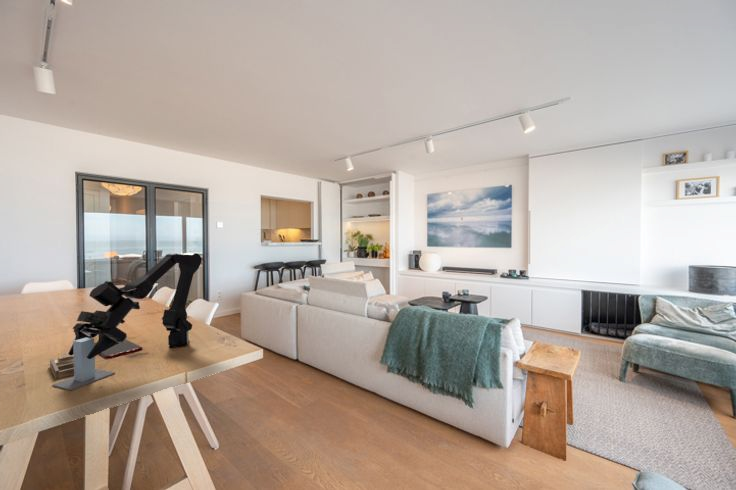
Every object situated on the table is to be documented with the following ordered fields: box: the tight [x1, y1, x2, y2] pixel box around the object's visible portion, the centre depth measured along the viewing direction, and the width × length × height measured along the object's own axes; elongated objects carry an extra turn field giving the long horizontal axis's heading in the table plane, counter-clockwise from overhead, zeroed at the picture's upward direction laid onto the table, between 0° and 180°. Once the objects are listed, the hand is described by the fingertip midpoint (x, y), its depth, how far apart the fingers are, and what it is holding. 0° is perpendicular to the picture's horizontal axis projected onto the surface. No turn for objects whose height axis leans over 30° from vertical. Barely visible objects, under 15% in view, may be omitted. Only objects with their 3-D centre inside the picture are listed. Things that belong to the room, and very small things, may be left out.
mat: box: [51, 368, 116, 391], centre depth 99 cm, size 12×9×1 cm
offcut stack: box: [54, 354, 74, 366], centre depth 110 cm, size 6×4×3 cm, turn 141°
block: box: [72, 337, 96, 382], centre depth 99 cm, size 4×4×12 cm
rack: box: [49, 358, 74, 380], centre depth 107 cm, size 7×15×2 cm, turn 51°
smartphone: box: [94, 338, 143, 359], centre depth 128 cm, size 12×2×25 cm
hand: (78, 356), depth 98 cm, fingers open, 9 cm apart
